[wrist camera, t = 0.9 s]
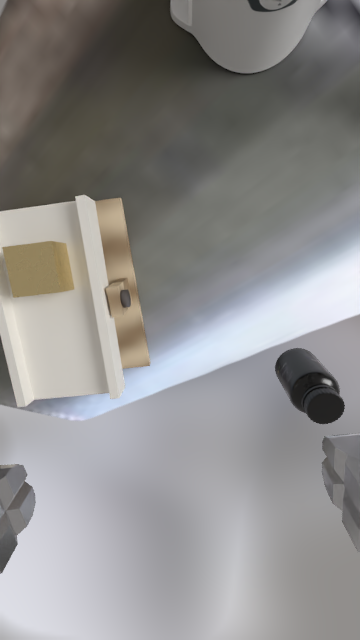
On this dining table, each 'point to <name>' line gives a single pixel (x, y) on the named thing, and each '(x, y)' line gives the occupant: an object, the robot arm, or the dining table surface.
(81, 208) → the beam
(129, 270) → the stand
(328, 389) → the supplement bottle
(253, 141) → the dining table surface
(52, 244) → the block
